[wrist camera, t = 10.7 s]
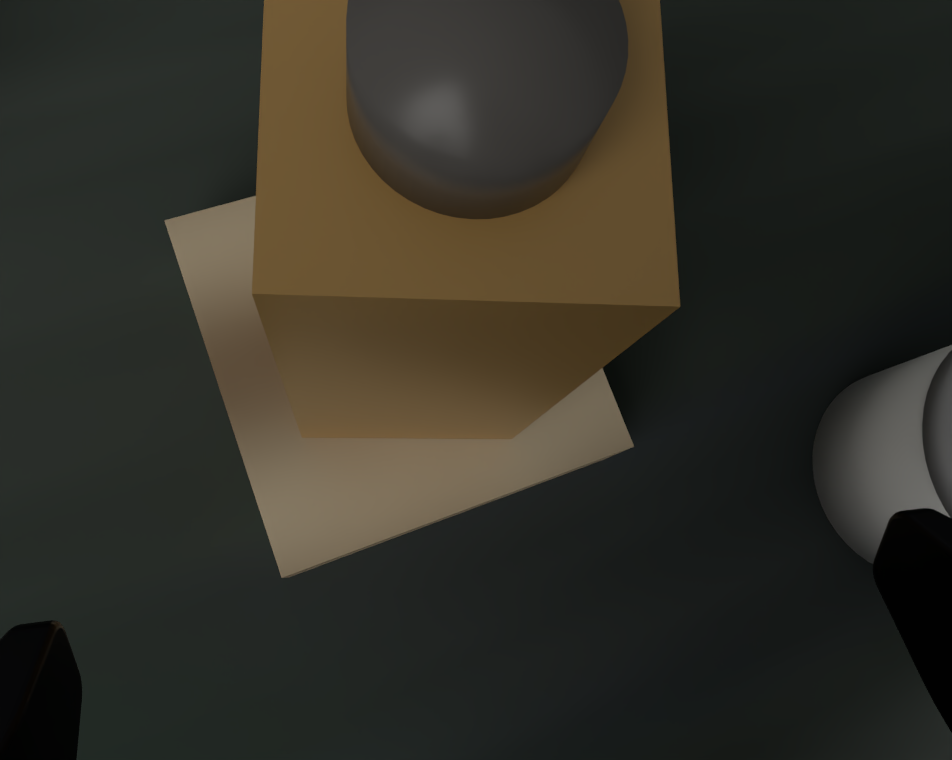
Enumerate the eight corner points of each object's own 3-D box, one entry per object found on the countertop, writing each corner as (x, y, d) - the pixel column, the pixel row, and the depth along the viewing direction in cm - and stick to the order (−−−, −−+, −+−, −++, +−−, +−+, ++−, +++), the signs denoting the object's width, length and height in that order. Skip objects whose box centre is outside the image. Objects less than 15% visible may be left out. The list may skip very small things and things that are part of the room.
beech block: (598, 461, 24) (634, 446, 22) (288, 577, 22) (281, 577, 20) (486, 178, 26) (505, 128, 23) (185, 263, 24) (164, 220, 21)
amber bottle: (511, 439, 21) (733, 264, 9) (301, 437, 20) (234, 244, 8) (507, 244, 22) (700, -148, 10) (307, 236, 21) (255, -197, 9)
